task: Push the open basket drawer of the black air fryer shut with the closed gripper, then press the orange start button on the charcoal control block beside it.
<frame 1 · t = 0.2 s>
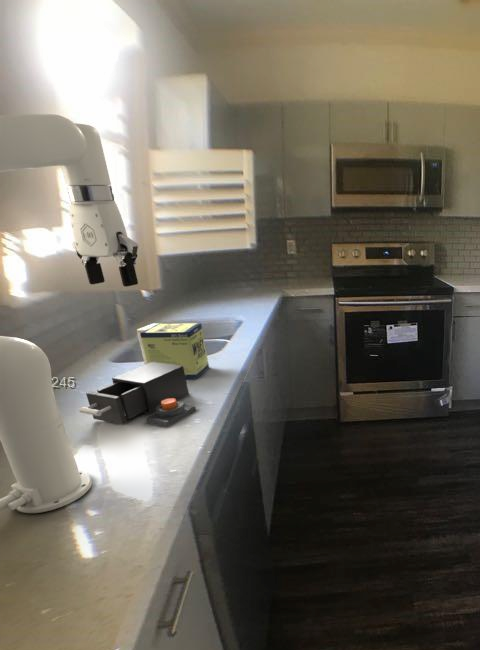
hand: (113, 284, 96), 37 cm above the worktop, tool pointing down, fingers open, 9 cm apart
control block: (172, 416, 120), on the worktop
protein box: (181, 373, 150), on the worktop
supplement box: (158, 363, 161), on the worktop
air fryer: (155, 401, 129), on the worktop
drawer: (118, 402, 118), point 5 cm above the worktop, slide at 7.0 cm
start button: (169, 403, 119), point 4 cm above the worktop, slide at 0.2 cm
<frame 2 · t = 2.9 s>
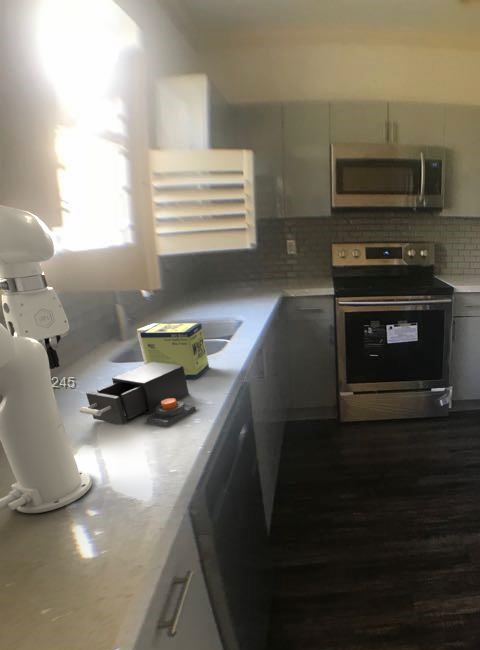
hand: (51, 367, 102), 19 cm above the worktop, tool pointing down, fingers closed
nothing on the worktop moved.
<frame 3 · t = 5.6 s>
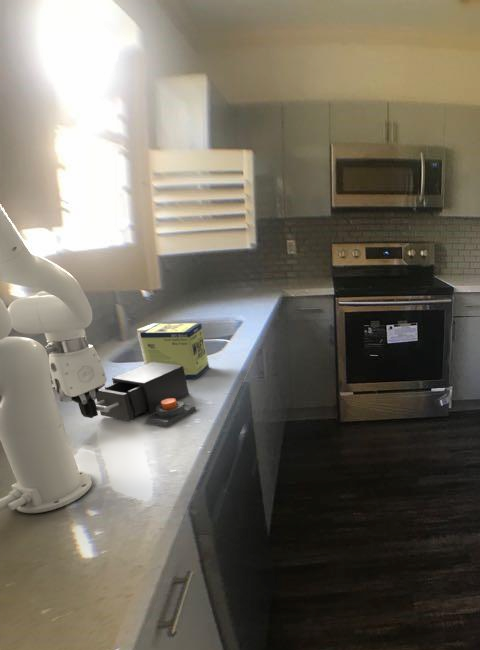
hand: (90, 415, 112), 4 cm above the worktop, tool pointing down, fingers closed
drawer: (125, 399, 120), point 5 cm above the worktop, slide at 4.8 cm, touching gripper
everything else where it was.
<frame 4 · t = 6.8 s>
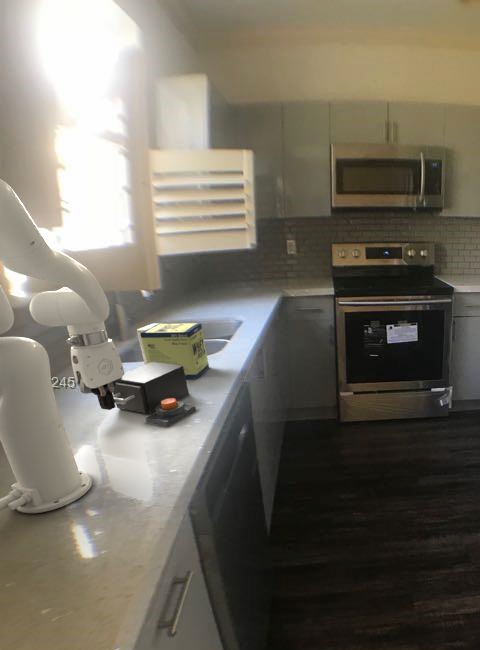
hand: (108, 408, 116), 4 cm above the worktop, tool pointing down, fingers closed
drawer: (140, 392, 124), point 5 cm above the worktop, slide at 0.0 cm, touching air fryer, gripper
everything else where it was.
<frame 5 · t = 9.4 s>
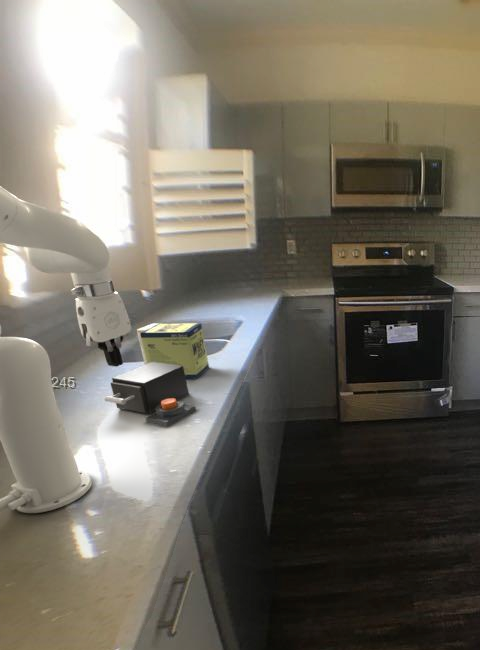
hand: (115, 364, 112), 16 cm above the worktop, tool pointing down, fingers closed
drawer: (140, 392, 124), point 5 cm above the worktop, slide at 0.0 cm, touching air fryer
everything else where it was.
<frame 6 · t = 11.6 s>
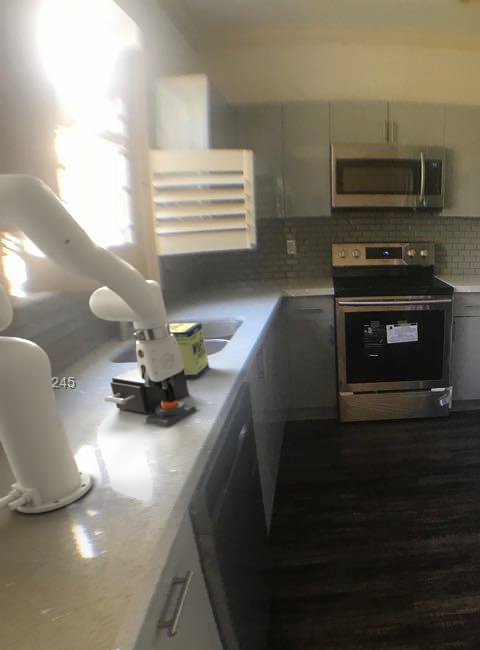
hand: (169, 400, 119), 5 cm above the worktop, tool pointing down, fingers closed
start button: (169, 404, 119), point 4 cm above the worktop, slide at 0.1 cm, touching gripper
everything else where it was.
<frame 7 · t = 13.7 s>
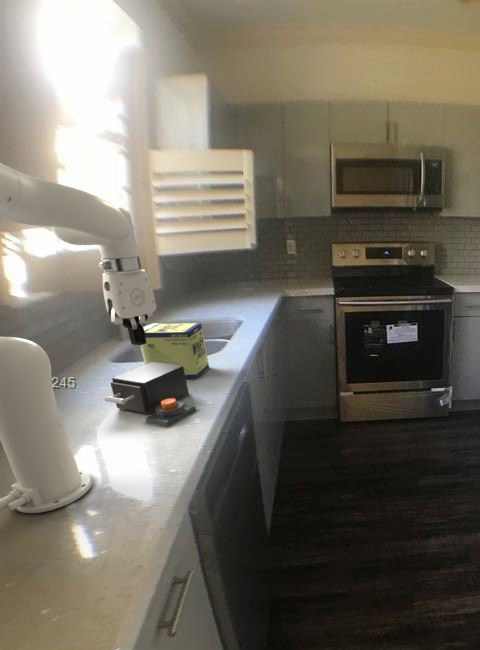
hand: (139, 343, 110), 21 cm above the worktop, tool pointing down, fingers closed
start button: (169, 404, 119), point 4 cm above the worktop, slide at 0.2 cm
everything else where it was.
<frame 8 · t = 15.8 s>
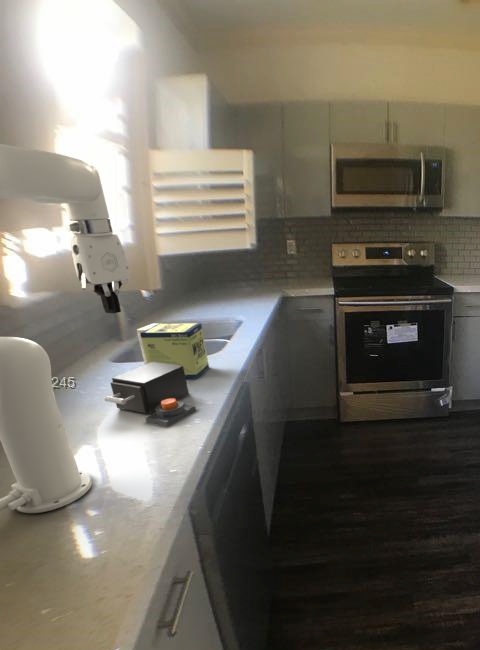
hand: (113, 312, 105), 29 cm above the worktop, tool pointing down, fingers closed
nothing on the worktop moved.
at the end: drawer slide at 0.0 cm; start button pushed in 1.0 cm at the most during the clip, back to 0.2 cm at the end; start button slide at 0.2 cm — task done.
